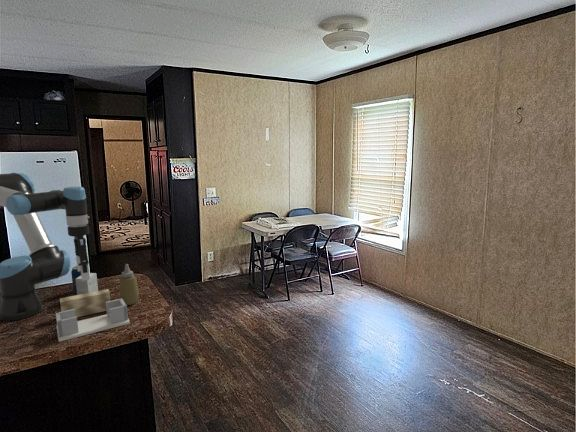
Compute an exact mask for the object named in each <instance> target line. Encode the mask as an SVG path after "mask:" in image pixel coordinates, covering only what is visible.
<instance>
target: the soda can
mask: <svg viewBox="0 0 576 432" xmlns="http://www.w3.org/2000/svg"><path fill="white" fill-rule="evenodd" d="M70 274H71V282H72V289H73V292H74V293H76V294H77V288H76V280H75V279H76V278H78V277H79V276H81V271H79V272H78V269H77V265H76V266H73V267H72V269H71V272H70Z"/></svg>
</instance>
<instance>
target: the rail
mask: <svg viewBox="0 0 576 432" xmlns="http://www.w3.org/2000/svg"><path fill="white" fill-rule="evenodd" d="M108 301H112V300H111V292H110V290H109V289H108V288H107V289H101V290H98V291H96V292H91V293H85V294H80V295H77V294H76V295H70V296H65V297H61V298H59V303H60V310H61V311H60V312H62V311H67V310H71V309H75V316H77V318H80V317H84V316H88V315H93V314H96V313H101V312H102V313H103V312H105V311H106V312H107V310H106V302H108Z"/></svg>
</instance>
